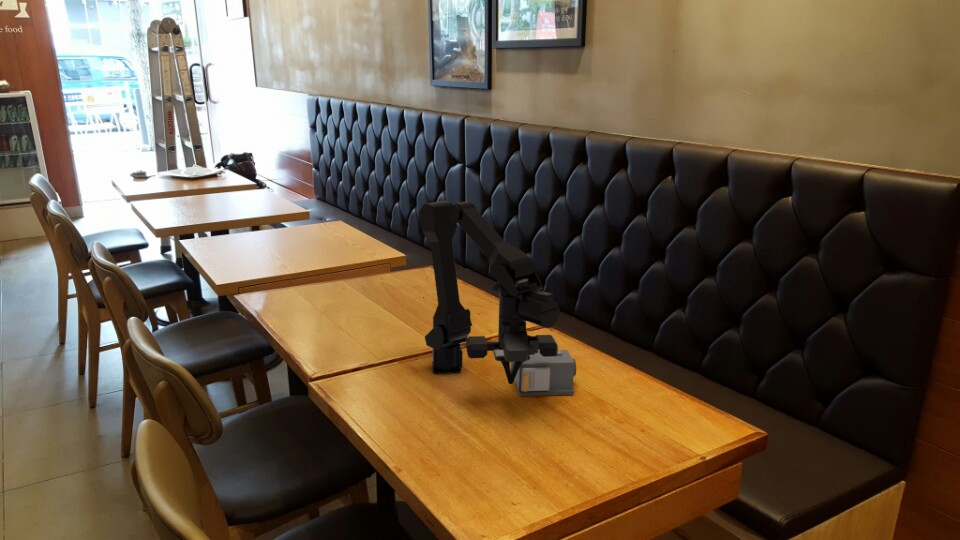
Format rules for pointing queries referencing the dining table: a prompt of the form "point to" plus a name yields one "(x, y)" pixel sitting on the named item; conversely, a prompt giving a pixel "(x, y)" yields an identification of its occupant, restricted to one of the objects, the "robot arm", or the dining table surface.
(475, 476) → the dining table surface
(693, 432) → the dining table surface
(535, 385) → the side door
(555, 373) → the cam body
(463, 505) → the dining table surface
